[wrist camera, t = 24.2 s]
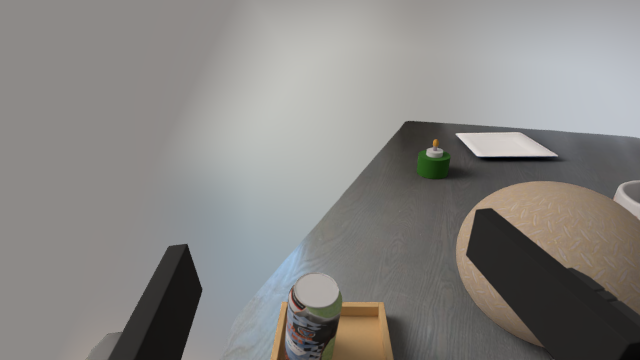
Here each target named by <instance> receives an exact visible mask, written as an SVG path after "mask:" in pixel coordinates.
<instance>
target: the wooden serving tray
mask: <svg viewBox="0 0 640 360" xmlns="http://www.w3.org/2000/svg"><path fill="white" fill-rule="evenodd" d="M287 310H288V302H282V305H281V310H280V315H279V320H278V325H277V330H276V335H275V340H274V345H273V349H272V354H271V359H270V360H286V359H285V353H284V350H285V337H286V324H287ZM331 360H394V359H393V354H392V348H391V342H390V336H389V331H388V325H387V319H386V314H385V308H384V303H383V302H342V308H341V313H340V319H339V324H338V329H337V334H336V339H335V345H334V350H333V355H332V359H331Z"/></svg>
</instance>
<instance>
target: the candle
mask: <svg viewBox="0 0 640 360" xmlns="http://www.w3.org/2000/svg"><path fill="white" fill-rule="evenodd" d="M438 145H439V142H438V140H437V139H436V140H434V142H433V148H429V149H427V150H423V151H421V152H419V156H418V165H417V173H418V174H419V175H420V176H422V177H425V178H429V179H442V178H445V177H446V176H447V175H448V168H449V162H450V154H449V153H447V152H444V151H443V150H442V149H439V148H437V147H438Z"/></svg>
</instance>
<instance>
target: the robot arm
mask: <svg viewBox="0 0 640 360" xmlns="http://www.w3.org/2000/svg"><path fill="white" fill-rule="evenodd" d="M466 256H467V257H468V258H469V260H470V261H471V262H472V263H473V264H474V265H475V267H476V268H477V269H478V270H479V271H480V272H481V274H482V275H483V276H484V277H485V278H486V279H487V281H488V282H489V283H490V284H491V285H492V286H493V288H494V289H495V290H496V291H497V292H498V293H499V295H500V296H501V297H502V298H503V299H504V301H505V302H506V303H507V304H508V305H509V306H510V308H511V309H512V310H513V311H514V312H515V313H516V315H517V316H518V317H519V318H520V319H521V320H522V322H523V323H524V324H525V325H526V326H527V327H528V329H529V330H530V331H531V332H532V333H533V334H534V336H535V337H536V338H537V339H538V340H539V341H540V343H541V344H542V345H543V346H544V347H545V348H546V350H547V351H548V352H549V353H550V354H551V355H552V357H553V358H554V359H555V360H640V315H639V314H638V313H636V312H635V311H634V310H632V309H631V308H630V307H629V306H627V305H626V304H625V303H623V302H622V301H619V300H618V298H617V297H616V296H614V295H613V294H612V293H610V292H609V291H606V290H605V288H604V287H603V286H601V285H600V284H599V283H597V282H596V281H595V280H593V279H592V278H591V277H589V276H587V275H586V274H584V273H582V272H580V271H578V270H576V269H574V268H572V267H571V268H566V267H564V266H563V265H562V264H561V263H560V262H558V261H557V260H556V259H555V258H553V257H552V256H551V255H550V254H548V253H547V252H546V251H545V250H543V249H542V248H541V247H540V246H538V245H537V244H536V243H535V242H533V241H532V240H531V239H530V238H528V237H527V236H526V235H525V234H523V233H522V232H521V231H520V230H518V229H517V228H516V227H515V226H513V225H512V224H511V223H510V222H508V221H507V220H506V219H505V218H503V217H502V216H501V215H500V214H498V213H497V212H496V211H495V210H493V209H492V208H485V209H477V210H476V212H475V216H474V221H473V225H472V229H471V234H470V238H469V243H468V247H467V252H466ZM201 293H202V287H201V284H200V281H199V278H198V275H197V272H196V269H195V266H194V263H193V260H192V257H191V254H190V251H189V248H188V245H187V244H182V245H173V246H169V247H168V248H167V250H166V252H165V254H164V256H163V258H162V260H161V261H160V264H159V265H158V267H157V269H156V271H155V272H154V275H153V276H152V278H151V280H150V282H149V284H148V286H147V287H146V289H145V291H144V293H143V295H142V297H141V298H140V300H139V302H138V304H137V306H136V308H135V310H134V311H133V313H132V315H131V317H130V320H129V321H128V323H127V324H126V326H125V328H124V330H123V332H118V333H111V334H107V335H106V336H105V337H104V338H103V339H102V340H101V341H100V342H99V343H98V344H97V345H96V346H95V347H94V348H93V349H92V350H91V352H90V354H89V355H88V357H87V359H86V360H181V358H182V355H183V351H184V348H185V345H186V342H187V338H188V335H189V332H190V329H191V326H192V322H193V319H194V316H195V313H196V309H197V306H198V303H199V300H200V297H201Z"/></svg>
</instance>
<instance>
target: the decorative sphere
mask: <svg viewBox="0 0 640 360" xmlns="http://www.w3.org/2000/svg"><path fill="white" fill-rule="evenodd" d="M485 208H492V209H493V210H495V211H496V212H497V213H498V214H500V215H501V216H502V217H503V218H505V219H506V220H507V221H508V222H510V223H511V224H512V225H513V226H515V227H516V228H517V229H518V230H520V231H521V232H522V233H523V234H525V235H526V236H527V237H528V238H530V239H531V240H532V241H533V242H535V243H536V244H537V245H538V246H540V247H541V248H542V249H543V250H545V251H546V252H547V253H548V254H550V255H551V256H552V257H553V258H555V259H556V260H557V261H558V262H560V263H561V264H562V265H563V266H564V267H566V268H571V267H572V268H574V269H576V270H578V271H580V272H582V273H584V274H586V275H587V276H589V277H591V278H592V279H593V280H595V281H596V282H597V283H599V284H600V285H601V286H603V287H604V288H605V290H606V291H609V292H610V293H612V294H613V295H614V296H616V297H617V298H618V300H619V301H622V302H623V303H625V304H626V305H627V306H629V307H630V308H631V309H632V310H634V311H635V312H636V313H638V314H639V315H640V220H639V219H638V218H636V217H635V216H634V215H633V214H632V213H631V212H630V211H628V210H627V209H626V208H624V207H623V206H621V205H620V204H618V203H617V202H615V201H613V200H612V199H610V198H608V197H606V196H604V195H602V194H600V193H597V192H595V191H593V190H590V189H587V188H584V187H580V186H577V185H572V184H567V183H561V182H551V181H536V182H526V183H520V184H516V185H512V186H509V187H506V188H503V189H501V190H498V191H496V192H494V193H492V194H491V195H489V196H487V197H486V198H485V199H483V200H482V201H481V202H479V203H478V204H477V205H476V206H475V207H474V208H473V209H472V210H471V212H470V213H469V214H468V216H467V217H466V219H465V220H464V222H463V224H462V226H461V229H460V231H459V235H458V239H457V245H456V259H457V265H458V270H459V273H460V276H461V279H462V282H463V284H464V286H465V288H466V290H467V291H468V293H469V295H470V296H471V298H472V299H473V301H474V302H475V303H476V304H477V306H478V307H479V308H480V309H481V310H482V311H483V312H484V313H485V314H486V315H487V316H488V317H489V318H490V319H491V320H492V321H493V322H495V323H496V324H497V325H499V326H500V327H501V328H503V329H504V330H506V331H507V332H509V333H511V334H513V335H514V336H516V337H518V338H520V339H522V340H524V341H527V342H529V343H532V344H534V345H537V346H540V347H544V346H543V345H542V344H541V343H540V341H539V340H538V339H537V338H536V337H535V336H534V334H533V333H532V332H531V331H530V330H529V329H528V327H527V326H526V325H525V324H524V323H523V322H522V320H521V319H520V318H519V317H518V316H517V315H516V313H515V312H514V311H513V310H512V309H511V308H510V306H509V305H508V304H507V303H506V302H505V301H504V299H503V298H502V297H501V296H500V295H499V293H498V292H497V291H496V290H495V289H494V288H493V286H492V285H491V284H490V283H489V282H488V281H487V279H486V278H485V277H484V276H483V275H482V274H481V272H480V271H479V270H478V269H477V268H476V267H475V265H474V264H473V263H472V262H471V261H470V260H469V258H468V257H467V256H466V252H467V247H468V243H469V238H470V234H471V229H472V225H473V221H474V216H475V212H476V210H477V209H485ZM544 348H545V347H544Z"/></svg>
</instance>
